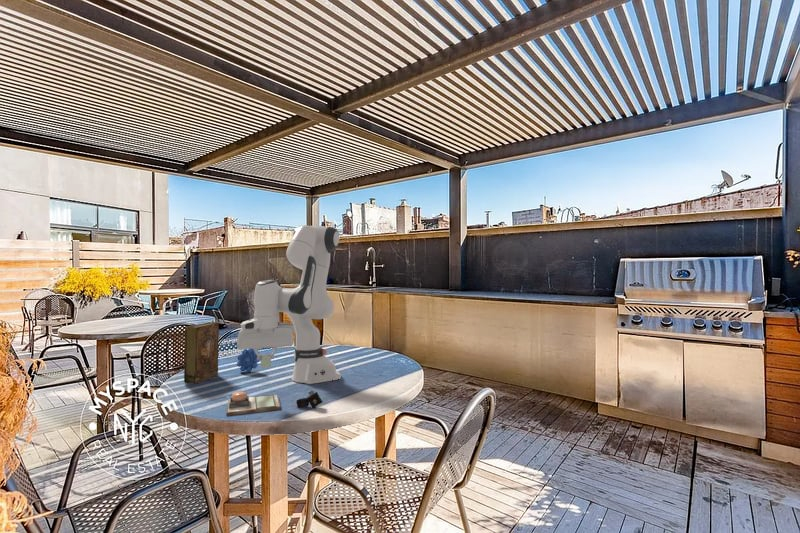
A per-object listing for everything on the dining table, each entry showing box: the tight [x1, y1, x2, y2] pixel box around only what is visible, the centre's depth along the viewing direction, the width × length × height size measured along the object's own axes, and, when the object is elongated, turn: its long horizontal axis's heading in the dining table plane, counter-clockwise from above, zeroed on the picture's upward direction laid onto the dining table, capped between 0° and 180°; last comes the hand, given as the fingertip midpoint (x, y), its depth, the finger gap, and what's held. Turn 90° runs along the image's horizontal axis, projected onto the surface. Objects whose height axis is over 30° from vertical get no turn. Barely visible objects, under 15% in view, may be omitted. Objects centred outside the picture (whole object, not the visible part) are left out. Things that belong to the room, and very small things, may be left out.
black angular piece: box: [295, 390, 324, 409], centre depth 142 cm, size 9×2×6 cm
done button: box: [231, 391, 248, 402], centre depth 142 cm, size 5×5×2 cm
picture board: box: [226, 393, 282, 416], centre depth 143 cm, size 18×14×3 cm
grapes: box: [236, 349, 261, 373], centre depth 190 cm, size 12×7×12 cm, turn 87°
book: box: [183, 321, 220, 385], centre depth 176 cm, size 16×6×25 cm, turn 168°
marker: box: [260, 352, 272, 369], centre depth 145 cm, size 3×10×3 cm, turn 22°
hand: (265, 359), depth 146 cm, fingers closed on marker, 3 cm apart
